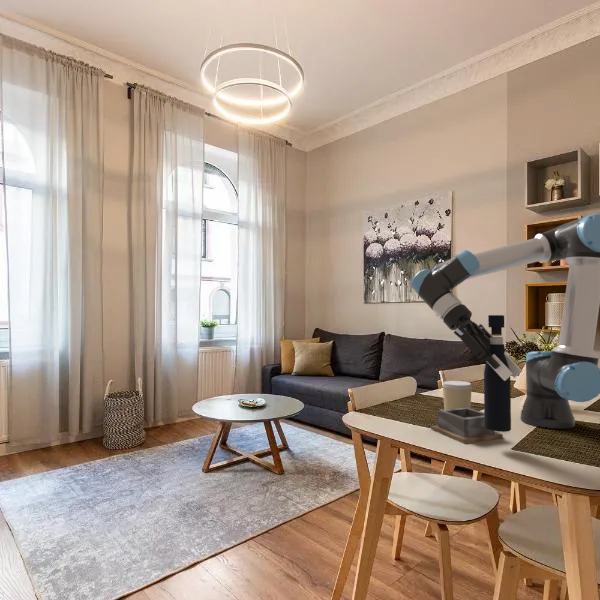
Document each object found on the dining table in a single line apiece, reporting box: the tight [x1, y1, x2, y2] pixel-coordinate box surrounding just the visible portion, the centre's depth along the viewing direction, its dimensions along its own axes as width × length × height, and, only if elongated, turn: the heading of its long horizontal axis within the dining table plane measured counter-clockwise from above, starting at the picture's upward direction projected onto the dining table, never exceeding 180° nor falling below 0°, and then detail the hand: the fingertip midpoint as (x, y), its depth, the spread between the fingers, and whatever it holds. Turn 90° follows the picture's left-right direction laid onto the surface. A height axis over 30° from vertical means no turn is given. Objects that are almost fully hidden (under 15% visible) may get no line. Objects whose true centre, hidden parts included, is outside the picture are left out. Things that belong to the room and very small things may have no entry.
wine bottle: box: [483, 314, 512, 433], centre depth 111 cm, size 6×6×30 cm
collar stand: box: [430, 407, 504, 444], centre depth 124 cm, size 14×14×6 cm
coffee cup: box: [441, 380, 473, 410], centre depth 140 cm, size 9×9×12 cm
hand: (513, 375), depth 108 cm, fingers closed on wine bottle, 5 cm apart
